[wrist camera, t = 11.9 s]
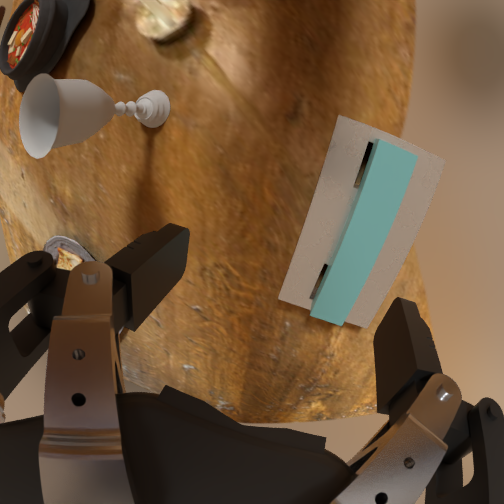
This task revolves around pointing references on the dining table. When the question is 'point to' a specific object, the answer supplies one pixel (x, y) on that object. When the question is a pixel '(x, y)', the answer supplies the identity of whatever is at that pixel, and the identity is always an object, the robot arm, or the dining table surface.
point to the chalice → (77, 112)
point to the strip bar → (364, 230)
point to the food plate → (66, 253)
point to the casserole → (38, 37)
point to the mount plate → (338, 208)
